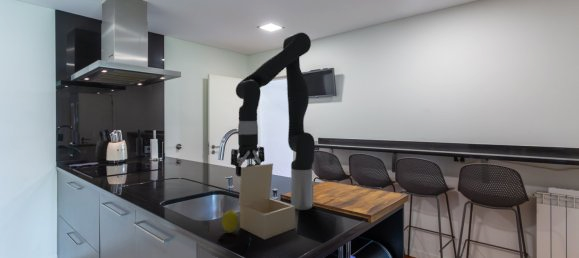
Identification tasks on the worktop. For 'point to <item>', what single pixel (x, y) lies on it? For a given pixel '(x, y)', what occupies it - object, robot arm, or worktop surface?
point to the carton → (267, 217)
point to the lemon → (230, 221)
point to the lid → (255, 183)
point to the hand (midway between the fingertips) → (248, 174)
